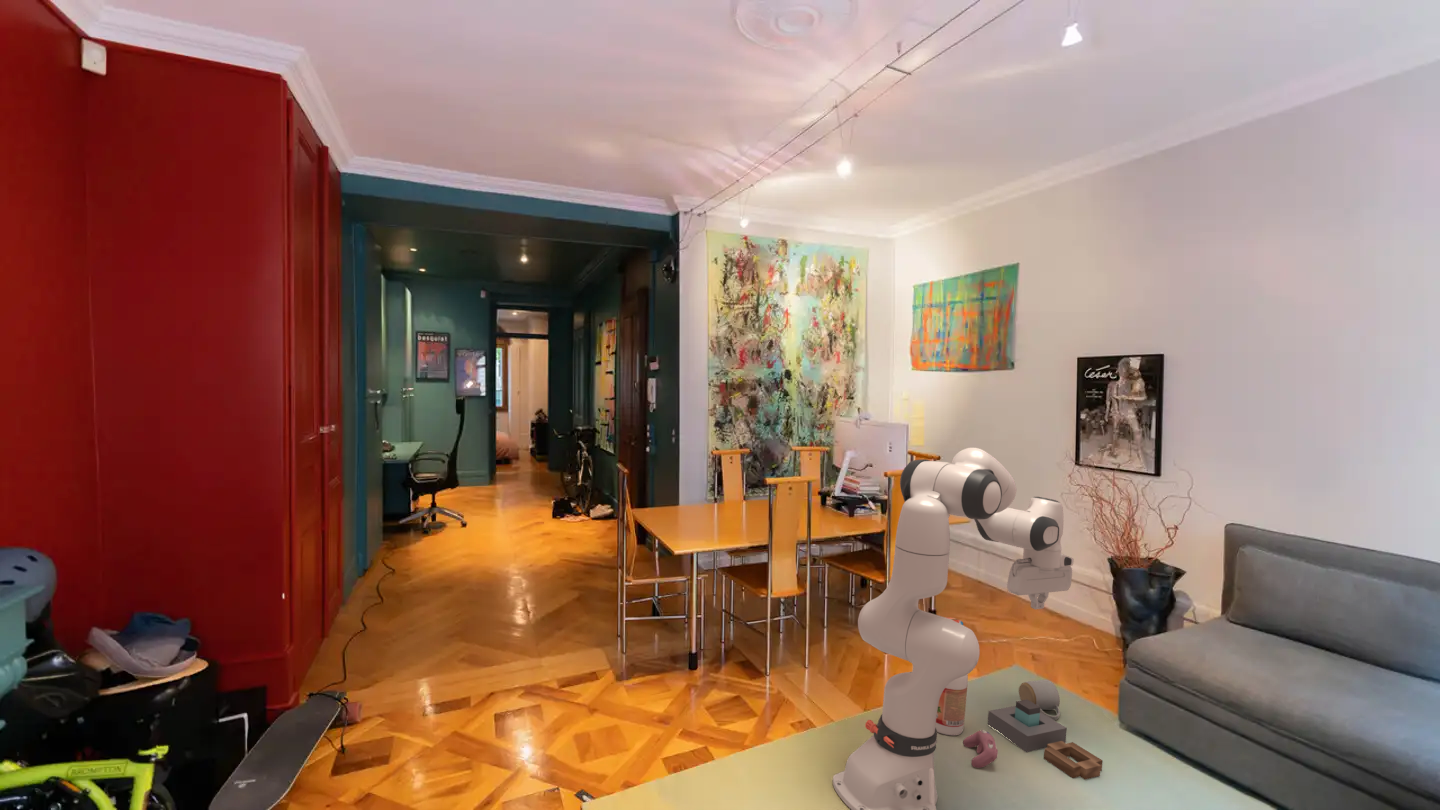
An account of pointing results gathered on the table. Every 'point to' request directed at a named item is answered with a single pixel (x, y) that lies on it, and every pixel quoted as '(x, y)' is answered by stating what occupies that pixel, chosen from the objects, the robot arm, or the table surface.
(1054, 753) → the brown wooden square frame
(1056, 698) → the ceramic mug
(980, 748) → the video game controller
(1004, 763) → the table surface
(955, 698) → the fruit juice
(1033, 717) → the plug
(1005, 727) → the port
